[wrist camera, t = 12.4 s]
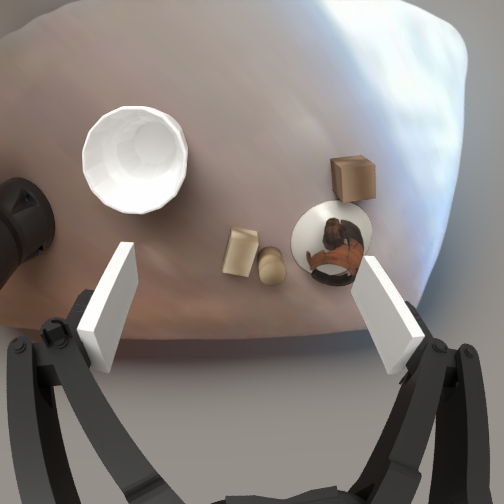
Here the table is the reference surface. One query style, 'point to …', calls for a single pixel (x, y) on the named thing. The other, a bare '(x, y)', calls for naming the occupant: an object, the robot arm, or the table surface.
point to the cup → (135, 159)
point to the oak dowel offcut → (271, 266)
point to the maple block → (240, 251)
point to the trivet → (312, 231)
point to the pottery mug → (338, 252)
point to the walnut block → (353, 178)
